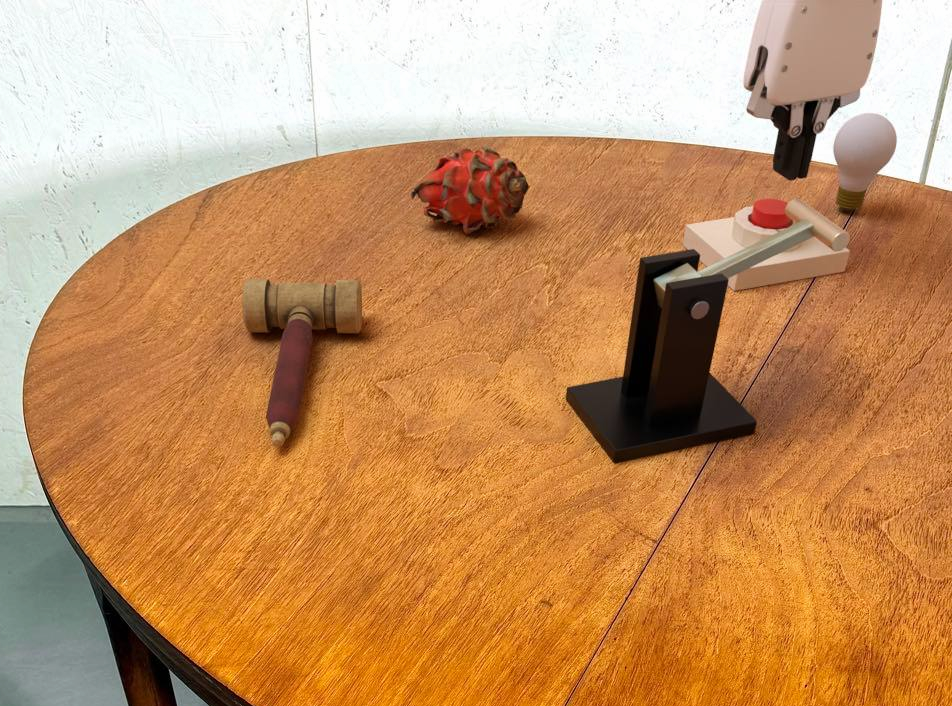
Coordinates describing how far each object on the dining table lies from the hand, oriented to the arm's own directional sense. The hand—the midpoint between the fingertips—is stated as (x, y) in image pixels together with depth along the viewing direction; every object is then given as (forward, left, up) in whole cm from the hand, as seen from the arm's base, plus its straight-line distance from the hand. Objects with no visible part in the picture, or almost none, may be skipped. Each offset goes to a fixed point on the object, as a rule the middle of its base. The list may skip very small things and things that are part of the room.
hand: (789, 173), depth 98 cm
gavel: (+46, +19, -9) cm, 50 cm away
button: (+1, 0, -5) cm, 5 cm away
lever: (+12, +24, +3) cm, 27 cm away
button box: (+1, 0, -9) cm, 9 cm away
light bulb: (-11, -10, -9) cm, 18 cm away
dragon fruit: (+29, -9, -9) cm, 31 cm away
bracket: (+17, +26, -9) cm, 32 cm away
